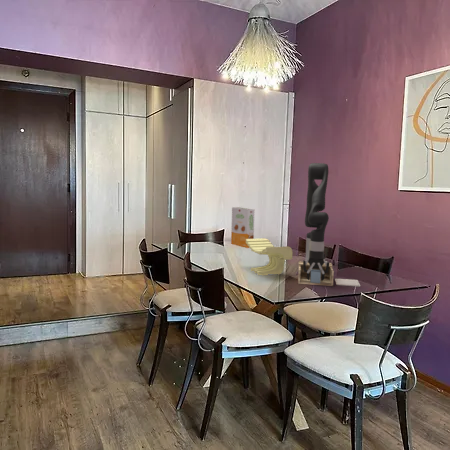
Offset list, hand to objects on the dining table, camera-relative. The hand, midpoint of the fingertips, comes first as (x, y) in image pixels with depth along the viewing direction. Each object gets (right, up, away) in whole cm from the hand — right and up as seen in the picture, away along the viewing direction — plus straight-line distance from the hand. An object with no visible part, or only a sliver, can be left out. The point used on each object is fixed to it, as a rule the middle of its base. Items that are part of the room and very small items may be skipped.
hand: (315, 280), depth 226 cm
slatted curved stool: (-23, +2, +22) cm, 32 cm away
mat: (+17, -2, +1) cm, 18 cm away
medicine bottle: (+7, +1, +23) cm, 24 cm away
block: (0, -1, 0) cm, 1 cm away
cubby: (+1, -1, +5) cm, 5 cm away
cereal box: (-35, +13, +114) cm, 120 cm away
